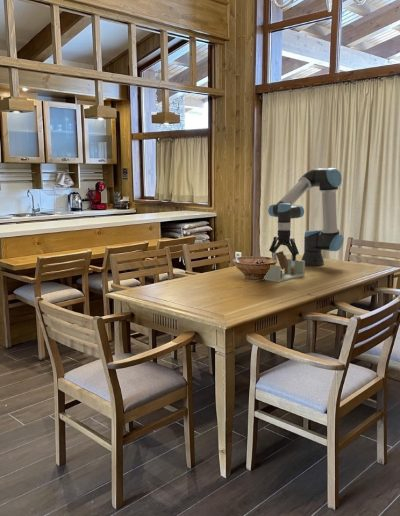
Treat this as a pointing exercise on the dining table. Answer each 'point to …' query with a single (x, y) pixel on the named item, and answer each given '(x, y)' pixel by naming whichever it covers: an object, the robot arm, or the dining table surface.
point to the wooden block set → (282, 260)
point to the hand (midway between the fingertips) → (283, 264)
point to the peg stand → (286, 271)
